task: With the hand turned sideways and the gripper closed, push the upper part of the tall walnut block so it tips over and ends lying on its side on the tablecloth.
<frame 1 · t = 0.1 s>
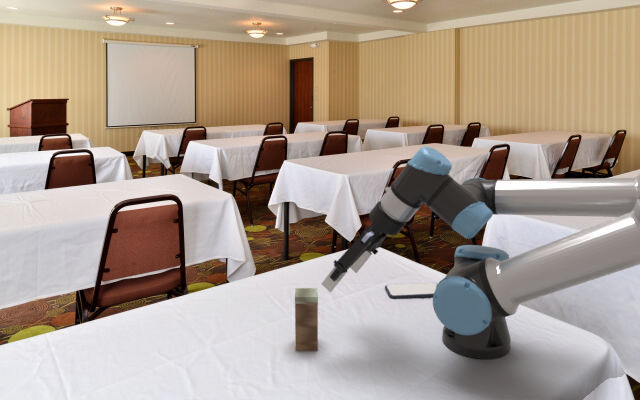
hand: (340, 277, 115), 15 cm above the table, tool tilted 35°, fingers open, 13 cm apart
walnut block: (306, 345, 115), on the table
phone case: (414, 294, 145), on the table
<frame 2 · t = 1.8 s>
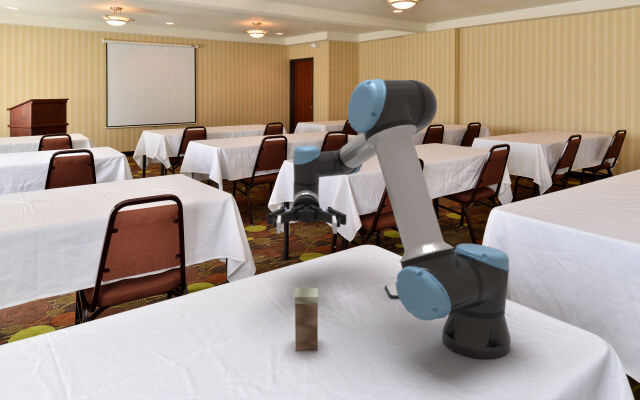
hand: (306, 228, 118), 25 cm above the table, tool horizontal, fingers open, 13 cm apart
nothing on the table moved.
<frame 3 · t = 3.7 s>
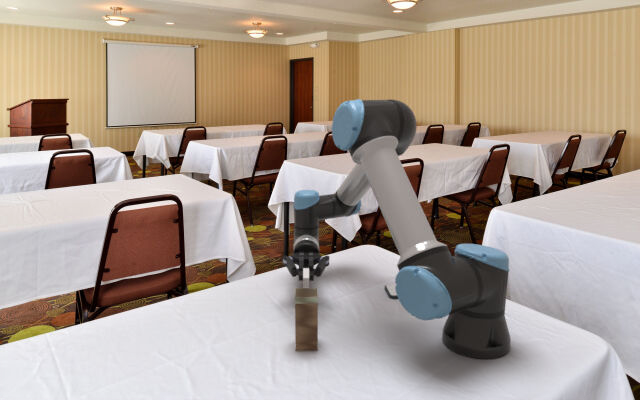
hand: (306, 283, 120), 12 cm above the table, tool horizontal, fingers closed
nothing on the table moved.
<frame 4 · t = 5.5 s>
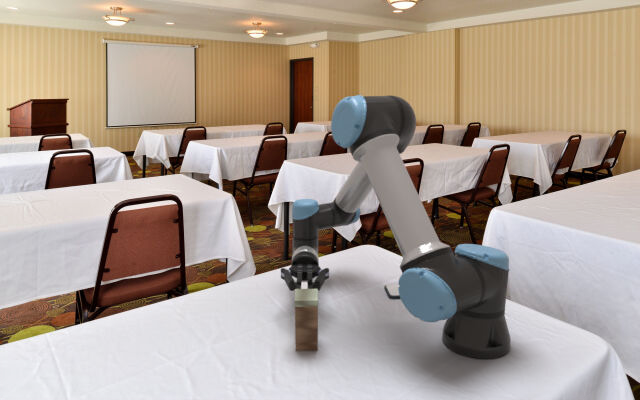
hand: (304, 298, 114), 11 cm above the table, tool horizontal, fingers closed
walnut block: (306, 344, 115), on the table, tilted 7°
everything else where it was.
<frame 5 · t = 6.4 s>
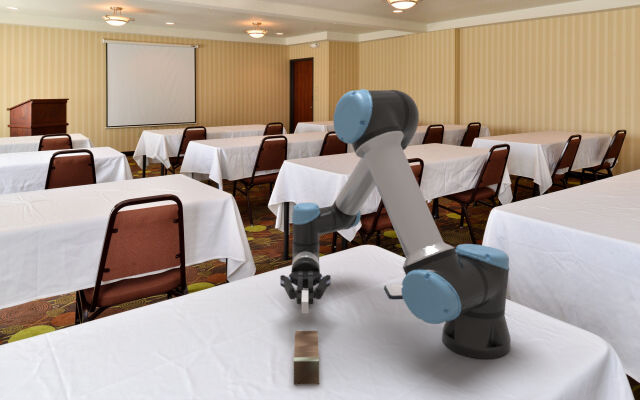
hand: (304, 307, 109), 11 cm above the table, tool horizontal, fingers closed
walnut block: (306, 341, 112), point 2 cm above the table, tilted 90°
everything else where it was.
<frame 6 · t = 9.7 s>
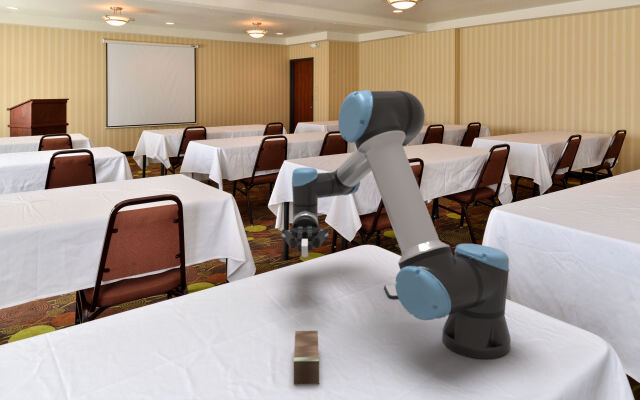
hand: (304, 251, 118), 20 cm above the table, tool horizontal, fingers closed
nothing on the table moved.
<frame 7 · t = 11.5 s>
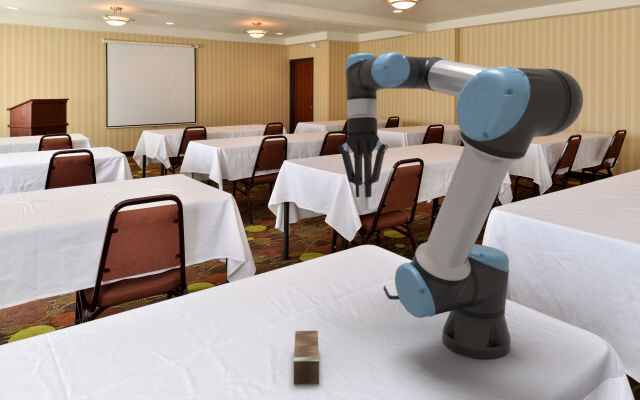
hand: (364, 210, 128), 28 cm above the table, tool pointing down, fingers closed
nothing on the table moved.
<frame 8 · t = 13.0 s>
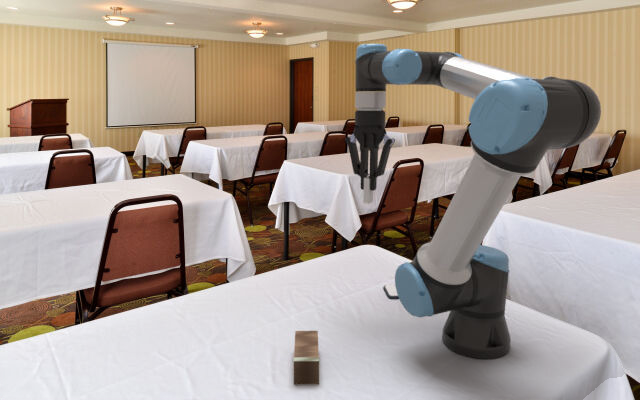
hand: (368, 202, 128), 29 cm above the table, tool pointing down, fingers closed
nothing on the table moved.
at the end: walnut block tilted 90°; walnut block inside the target area (0.8 cm from its centre), point 2.4 cm above the table; the gripper is holding nothing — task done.
